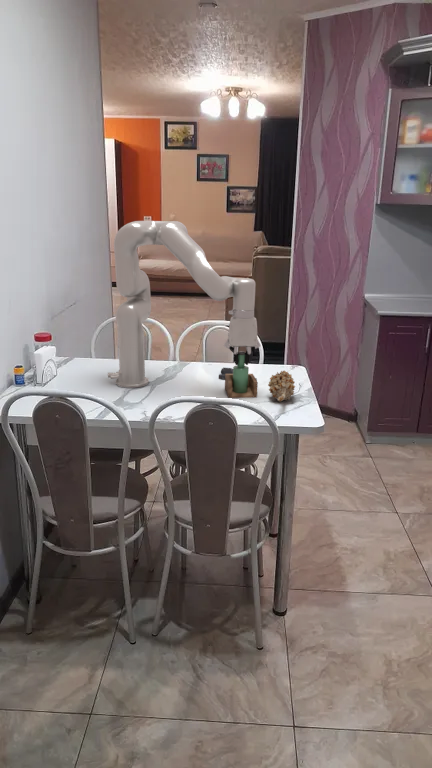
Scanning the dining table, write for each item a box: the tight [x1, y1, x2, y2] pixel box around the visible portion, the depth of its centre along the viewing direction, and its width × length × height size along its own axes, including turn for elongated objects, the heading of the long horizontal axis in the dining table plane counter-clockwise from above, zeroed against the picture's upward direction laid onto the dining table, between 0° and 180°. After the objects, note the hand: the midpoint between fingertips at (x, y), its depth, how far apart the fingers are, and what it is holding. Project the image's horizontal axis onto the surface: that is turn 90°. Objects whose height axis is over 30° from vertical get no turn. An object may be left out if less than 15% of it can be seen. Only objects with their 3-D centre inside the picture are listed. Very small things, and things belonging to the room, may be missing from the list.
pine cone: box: [267, 370, 296, 402], centre depth 193 cm, size 22×10×10 cm, turn 178°
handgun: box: [218, 367, 258, 381], centre depth 222 cm, size 2×16×12 cm
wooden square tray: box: [224, 373, 258, 399], centre depth 202 cm, size 10×10×6 cm
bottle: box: [232, 350, 250, 393], centre depth 201 cm, size 6×6×15 cm
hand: (241, 363), depth 200 cm, fingers open, 3 cm apart
